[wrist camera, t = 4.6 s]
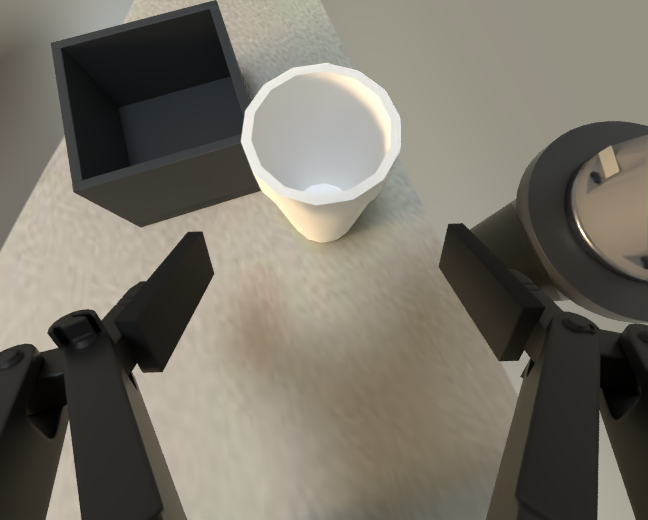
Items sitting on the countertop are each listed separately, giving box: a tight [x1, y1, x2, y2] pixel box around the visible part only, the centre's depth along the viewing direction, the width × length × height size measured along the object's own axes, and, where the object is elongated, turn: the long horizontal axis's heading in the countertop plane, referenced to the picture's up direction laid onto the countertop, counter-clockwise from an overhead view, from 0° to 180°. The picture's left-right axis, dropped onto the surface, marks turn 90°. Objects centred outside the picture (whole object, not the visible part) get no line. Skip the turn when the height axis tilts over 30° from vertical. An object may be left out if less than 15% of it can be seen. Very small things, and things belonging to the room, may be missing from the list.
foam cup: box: [241, 63, 401, 243], centre depth 23 cm, size 10×9×13 cm
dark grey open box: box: [51, 0, 261, 227], centre depth 27 cm, size 15×15×8 cm
